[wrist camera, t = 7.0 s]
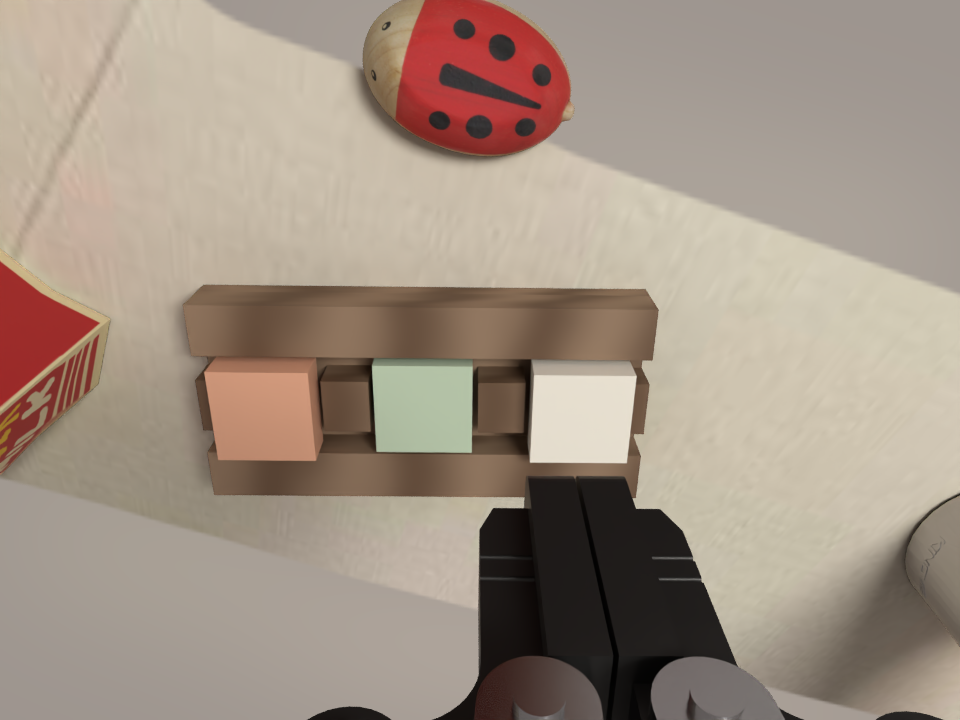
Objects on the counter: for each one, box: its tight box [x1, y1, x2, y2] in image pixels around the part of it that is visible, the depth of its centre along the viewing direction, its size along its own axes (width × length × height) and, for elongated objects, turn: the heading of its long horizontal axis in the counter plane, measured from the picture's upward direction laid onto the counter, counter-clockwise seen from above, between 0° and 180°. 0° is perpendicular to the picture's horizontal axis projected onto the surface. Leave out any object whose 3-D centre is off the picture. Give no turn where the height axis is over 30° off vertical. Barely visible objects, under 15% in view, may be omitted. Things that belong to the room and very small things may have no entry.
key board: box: [183, 285, 659, 498], centre depth 39 cm, size 23×11×3 cm, turn 89°
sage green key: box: [372, 358, 473, 453], centre depth 38 cm, size 5×5×2 cm
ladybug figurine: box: [363, 0, 575, 156], centre depth 33 cm, size 7×10×4 cm
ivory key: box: [527, 359, 637, 463], centre depth 38 cm, size 5×5×2 cm
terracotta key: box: [204, 356, 323, 461], centre depth 38 cm, size 5×5×2 cm
